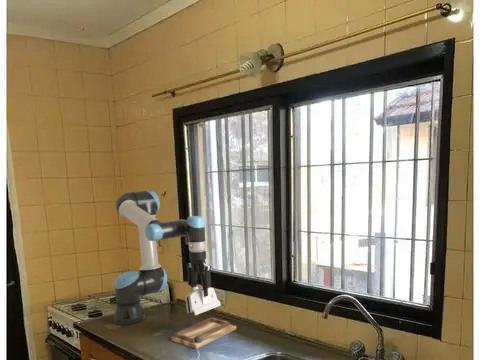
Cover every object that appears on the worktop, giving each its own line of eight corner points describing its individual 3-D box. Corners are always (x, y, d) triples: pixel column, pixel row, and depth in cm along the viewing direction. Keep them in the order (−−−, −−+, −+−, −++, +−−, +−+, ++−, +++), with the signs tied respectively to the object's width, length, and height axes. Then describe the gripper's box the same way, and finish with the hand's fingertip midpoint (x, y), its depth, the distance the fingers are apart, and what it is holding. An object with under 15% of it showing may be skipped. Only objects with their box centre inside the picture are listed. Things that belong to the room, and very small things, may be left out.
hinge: (194, 315, 172) (189, 292, 174) (187, 316, 175) (182, 293, 177) (221, 305, 185) (215, 283, 187) (214, 306, 188) (208, 285, 190)
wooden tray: (171, 340, 177) (170, 332, 176) (211, 322, 196) (210, 315, 196) (196, 348, 166) (196, 340, 166) (236, 329, 185) (235, 321, 185)
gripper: (177, 250, 185) (180, 301, 185) (205, 253, 173) (208, 308, 173) (189, 247, 190) (192, 297, 190) (217, 250, 178) (220, 303, 179)
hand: (200, 302), depth 182 cm, fingers closed on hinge, 5 cm apart
